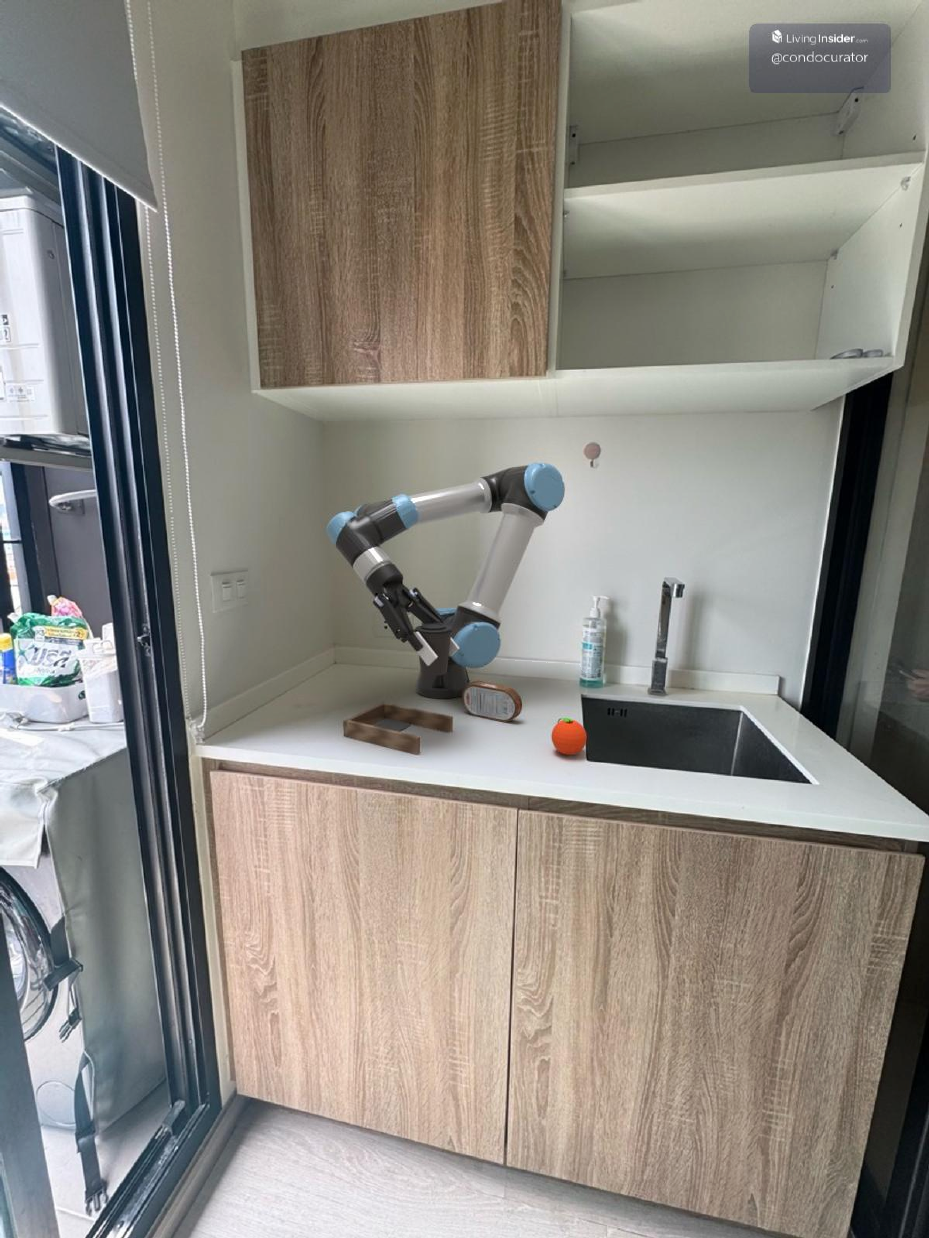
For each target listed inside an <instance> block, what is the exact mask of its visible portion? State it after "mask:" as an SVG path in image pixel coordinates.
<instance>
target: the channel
mask: <svg viewBox="0 0 929 1238" xmlns="http://www.w3.org/2000/svg"><path fill="white" fill-rule="evenodd" d="M385 719H391V720H395V721H400V722H404V723H409V724H411V726H412V725H413V726H418V727H421V726H422V727H421V728H426V729H430V730H435V729H436V730H435V731H439V730H440V732H444V733H448V732H451V733H453V729H454V727H453V726H454V724H453V720H454V717H453V715H447V714H443V713H442V714H441V713H439V712H434V711H433V712H432V711H428V710H423V709H418V708H413V707H408V706H404V705H398V704H394V703H390V702H389V703H388V702H384V701H383V702H381V703H379V704H377V705H375V706H373V707H370V708H368V709H366V710H364V711H362V712H360V713H358V714H355V715H353V716H351V717H349V718H346V719H343V722H342V723H343V725H342V726H343V730H342V731H343V737H344V736H346V737H345V738H348V737H349V739H354V740H356V739H357V741H361V742H366V743H369V744H373V745H375V746H376V745H377V746H381V747H386V748H389V749H392V750H396V751H401V752H403V753H407V754H408V753H409V754H412V755H416V756H418V755H420V754H421V736H419V735H414V734H410V733H406V732H403V731H400V732H398V731H394V730H390V729H386V728H381V727H377V726H373V725H375V724H377V723H379V722H381V721H383V720H385ZM419 753H420V754H419Z"/></svg>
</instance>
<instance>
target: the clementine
mask: <svg viewBox="0 0 929 1238" xmlns="http://www.w3.org/2000/svg"><path fill="white" fill-rule="evenodd" d="M585 729H586V728H584V726H583V725H582V724H581V723H579V722H578V721H577V720H575V719H571V718H569V717H564V718H563V717H562V718H558V720H557V723H556V724H555V725H554V727H553V729H552V731H551V743H552V744H553V747H554V748H555V749H556V750H557V751H558V752H560V753H561V754H563V755H567V756H572V755H576V754H579V753H580V752H581V751H582V750H583V749H585V746H586V744H587V739H588V738H587V736H588V735H587V732H586V730H585Z"/></svg>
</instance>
